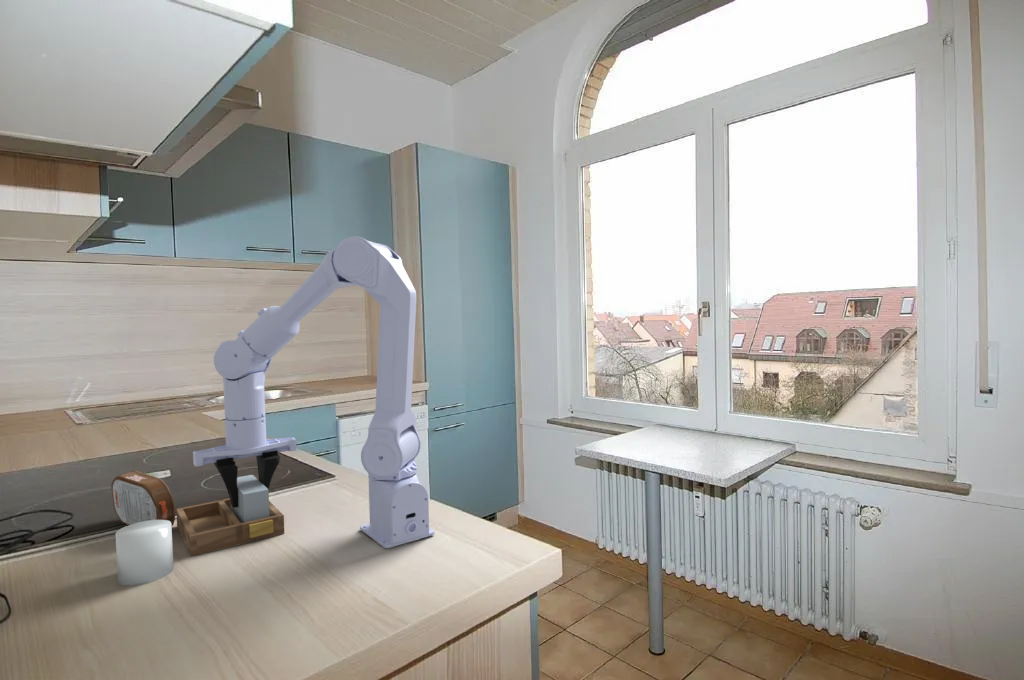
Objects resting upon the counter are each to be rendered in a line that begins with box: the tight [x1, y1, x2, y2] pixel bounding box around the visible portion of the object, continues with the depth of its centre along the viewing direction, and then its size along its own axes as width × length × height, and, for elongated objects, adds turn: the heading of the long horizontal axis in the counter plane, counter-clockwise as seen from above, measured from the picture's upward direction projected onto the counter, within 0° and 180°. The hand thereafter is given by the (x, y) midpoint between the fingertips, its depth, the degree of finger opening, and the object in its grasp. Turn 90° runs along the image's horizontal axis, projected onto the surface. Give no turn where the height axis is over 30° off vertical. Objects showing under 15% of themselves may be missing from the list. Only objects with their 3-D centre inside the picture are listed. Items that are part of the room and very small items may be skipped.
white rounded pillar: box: [115, 520, 175, 586], centre depth 72 cm, size 6×6×6 cm
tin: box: [110, 470, 176, 527], centre depth 87 cm, size 15×3×8 cm, turn 58°
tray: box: [175, 497, 285, 557], centre depth 86 cm, size 15×12×3 cm
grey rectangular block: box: [230, 474, 270, 523], centre depth 87 cm, size 10×4×5 cm, turn 38°
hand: (249, 502), depth 87 cm, fingers closed on grey rectangular block, 3 cm apart
